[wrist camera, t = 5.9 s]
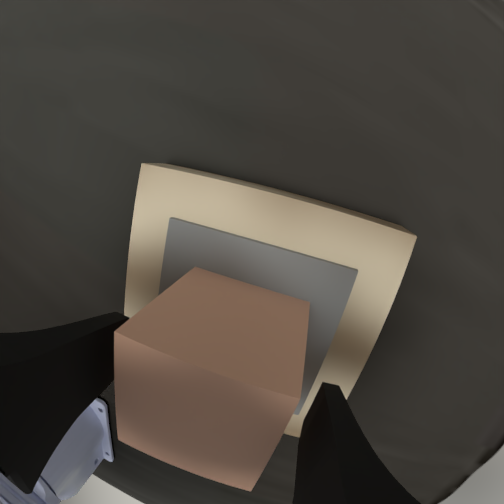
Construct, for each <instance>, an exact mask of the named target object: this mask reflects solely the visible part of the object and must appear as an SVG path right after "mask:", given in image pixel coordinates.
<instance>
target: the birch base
mask: <svg viewBox="0 0 504 504" xmlns="http://www.w3.org/2000/svg"><path fill="white" fill-rule="evenodd" d="M416 238H417V236H416V235H414V234H413V233H411V232H410V231H408V230H407V229H405V228H404V227H402V226H400V225H397V224H394V223H391V222H388V221H385V220H382V219H379V218H375V217H372V216H369V215H366V214H363V213H360V212H356V211H353V210H350V209H346V208H343V207H340V206H336V205H333V204H330V203H326V202H323V201H319V200H316V199H312V198H309V197H305V196H301V195H298V194H294V193H290V192H287V191H283V190H279V189H275V188H271V187H267V186H263V185H260V184H256V183H251V182H247V181H243V180H239V179H235V178H231V177H227V176H222V175H218V174H213V173H209V172H205V171H200V170H195V169H191V168H186V167H181V166H176V165H172V164H165V163H142V165H141V170H140V176H139V181H138V187H137V194H136V200H135V207H134V214H133V221H132V229H131V237H130V246H129V255H128V265H127V277H126V290H125V306H124V315H125V316H127V317H129V319H130V318H131V317H133V316H134V315H135V314H136V313H137V312H139V311H140V310H141V309H142V308H144V307H145V306H146V305H147V304H149V303H150V302H151V301H152V300H154V299H155V298H156V297H157V296H159V295H160V294H161V293H162V292H164V291H165V290H166V289H167V288H169V287H170V286H171V285H172V284H174V283H175V282H176V281H178V280H179V279H180V278H181V277H183V276H184V275H185V274H186V273H188V272H189V271H190V270H191V269H193V268H194V267H198V268H201V269H204V270H207V271H210V272H213V273H217V274H220V275H223V276H226V277H229V278H232V279H235V280H239V281H242V282H245V283H248V284H252V285H255V286H258V287H261V288H265V289H268V290H271V291H274V292H278V293H281V294H284V295H288V296H291V297H294V298H298V299H301V300H304V301H308V302H310V309H309V321H308V333H307V343H306V354H305V363H304V373H303V381H302V390H301V398H300V401H299V403H298V405H297V407H296V409H295V411H294V413H293V415H292V417H291V419H290V421H289V423H288V425H287V427H286V429H285V431H284V433H283V434H287V435H292V436H296V437H300V434H301V429H302V424H303V420H304V418H305V416H306V414H307V412H308V411H309V409H310V407H311V405H312V403H313V401H314V399H315V396H316V394H317V392H318V390H319V388H320V386H321V384H322V382H326V383H330V384H335V385H339V386H340V388H341V390H342V392H343V394H344V396H345V399H347V398H348V396H349V394H350V392H351V390H352V388H353V387H354V385H355V383H356V381H357V379H358V377H359V375H360V373H361V371H362V369H363V367H364V365H365V363H366V361H367V359H368V357H369V355H370V353H371V351H372V349H373V347H374V345H375V342H376V340H377V338H378V336H379V334H380V331H381V329H382V327H383V325H384V322H385V320H386V318H387V315H388V313H389V311H390V308H391V306H392V304H393V301H394V299H395V296H396V294H397V291H398V289H399V286H400V283H401V281H402V278H403V275H404V273H405V270H406V267H407V264H408V262H409V259H410V256H411V253H412V250H413V247H414V244H415V241H416Z"/></svg>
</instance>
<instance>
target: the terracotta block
mask: <svg viewBox="0 0 504 504" xmlns="http://www.w3.org/2000/svg"><path fill="white" fill-rule="evenodd" d="M309 309H310V302H308V301H304V300H301V299H298V298H294V297H291V296H288V295H284V294H281V293H278V292H274V291H271V290H268V289H265V288H261V287H258V286H255V285H252V284H248V283H245V282H242V281H239V280H235V279H232V278H229V277H226V276H223V275H220V274H217V273H213V272H210V271H207V270H204V269H201V268H198V267H194V268H193V269H191V270H190V271H189V272H188V273H186V274H185V275H184V276H183V277H181V278H180V279H179V280H178V281H176V282H175V283H174V284H172V285H171V286H170V287H169V288H167V289H166V290H165V291H164V292H162V293H161V294H160V295H159V296H157V297H156V298H155V299H154V300H152V301H151V302H150V303H149V304H147V305H146V306H145V307H144V308H142V309H141V310H140V311H139V312H137V313H136V314H135V315H134V316H133V317H131V318H130V319H129V320H128V321H126V322H125V323H124V324H123V325H121V326H120V327H119V328H118V329H117V330H115V331H114V383H115V406H116V421H117V434H118V440H120V441H121V442H123V443H125V444H127V445H129V446H131V447H133V448H135V449H138V450H140V451H142V452H144V453H146V454H148V455H150V456H153V457H155V458H157V459H159V460H162V461H164V462H166V463H169V464H171V465H173V466H176V467H178V468H181V469H184V470H186V471H189V472H191V473H194V474H197V475H200V476H202V477H205V478H208V479H211V480H214V481H217V482H220V483H223V484H227V485H230V486H233V487H237V488H240V489H244V490H247V491H251V490H252V489H253V487H254V485H255V484H256V482H257V480H258V479H259V477H260V475H261V473H262V472H263V470H264V468H265V466H266V464H267V463H268V461H269V459H270V457H271V455H272V454H273V452H274V450H275V448H276V446H277V444H278V442H279V441H280V439H281V437H282V435H283V433H284V431H285V429H286V427H287V425H288V423H289V421H290V419H291V417H292V415H293V413H294V411H295V409H296V407H297V405H298V403H299V401H300V398H301V390H302V381H303V373H304V363H305V354H306V343H307V333H308V321H309Z"/></svg>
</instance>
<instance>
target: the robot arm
mask: <svg viewBox="0 0 504 504" xmlns="http://www.w3.org/2000/svg"><path fill="white" fill-rule="evenodd" d="M128 320H129V317H127V316H125V315H122V314H120V313H118V312H113V313H108V314H104V315H100V316H97V317H93V318H89V319H86V320H82V321H78V322H75V323H71V324H67V325H62V326H57V327H53V328H48V329H43V330H37V331H29V332H19V333H0V504H59V503H60V502H61V500H65V499H69V498H71V497H72V496H74V495H76V494H77V493H78V491H79V490H80V489H81V488H82V486H83V485H84V484H85V482H86V481H87V480H88V478H89V477H90V476H91V474H92V473H93V472H94V471H95V469H96V468H97V467H98V465H99V464H100V463H101V461H102V460H103V459H106V460H108V461H110V462H113V460H114V455H113V449H112V442H111V435H110V427H109V418H108V409H107V404H106V403H105V402H104V401H103V400H101V399H99V398H97V397H98V396H99V395H100V394H101V393H102V392H103V391H104V390H105V389H106V388H107V387H108V386H109V385H110V383H111V382H112V381H113V380H114V331H115V330H117V329H118V328H119V327H120V326H121V325H123V324H124V323H125V322H126V321H128ZM293 504H421V503H420V502H418V501H417V500H416V499H415V498H414V497H413V496H412V495H411V494H410V493H408V492H407V491H406V490H405V488H404V487H403V486H402V485H401V484H400V483H399V482H398V481H397V480H396V479H395V478H394V477H393V475H392V474H391V473H390V472H389V471H388V469H387V468H386V467H385V465H384V464H383V463H382V462H381V460H380V459H379V458H378V456H377V455H376V453H375V452H374V450H373V449H372V447H371V445H370V444H369V442H368V441H367V439H366V437H365V436H364V434H363V432H362V430H361V428H360V427H359V425H358V423H357V421H356V419H355V417H354V415H353V413H352V411H351V409H350V407H349V405H348V403H347V401H346V399H345V396H344V394H343V392H342V390H341V388H340V386H339V385H335V384H330V383H326V382H322V384H321V386H320V388H319V390H318V392H317V394H316V396H315V399H314V401H313V403H312V405H311V407H310V409H309V411H308V412H307V414H306V416H305V418H304V420H303V424H302V429H301V434H300V439H299V444H298V455H297V467H296V479H295V490H294V498H293Z"/></svg>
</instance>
